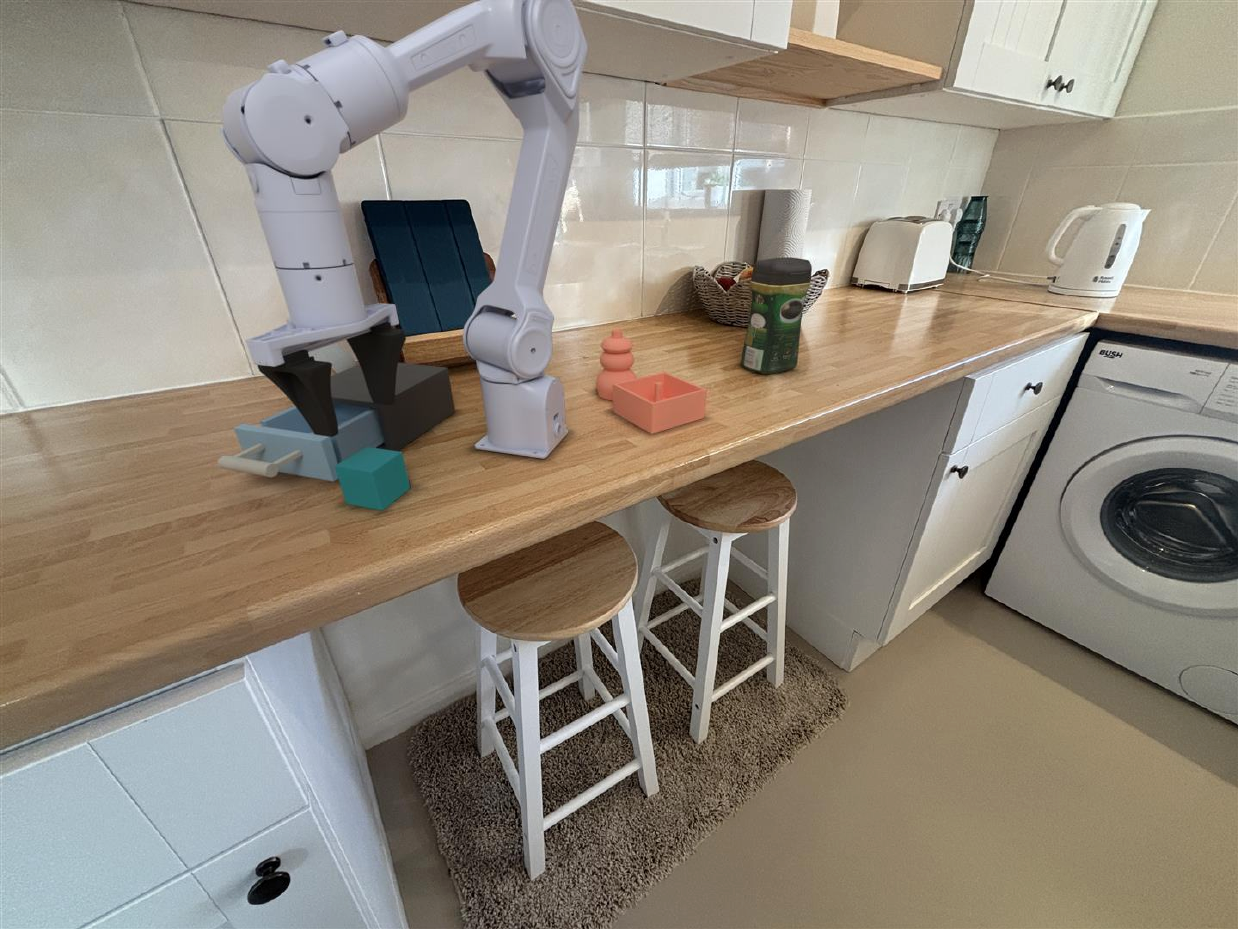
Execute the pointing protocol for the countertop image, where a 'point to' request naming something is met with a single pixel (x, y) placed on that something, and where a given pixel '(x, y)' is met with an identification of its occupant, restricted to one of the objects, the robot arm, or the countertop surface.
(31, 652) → the countertop surface
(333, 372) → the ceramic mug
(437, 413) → the dark grey drawer cabinet
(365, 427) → the drawer
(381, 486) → the teal toy cube
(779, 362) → the coffee jar
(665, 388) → the pink peg stacking toy
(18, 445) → the countertop surface
